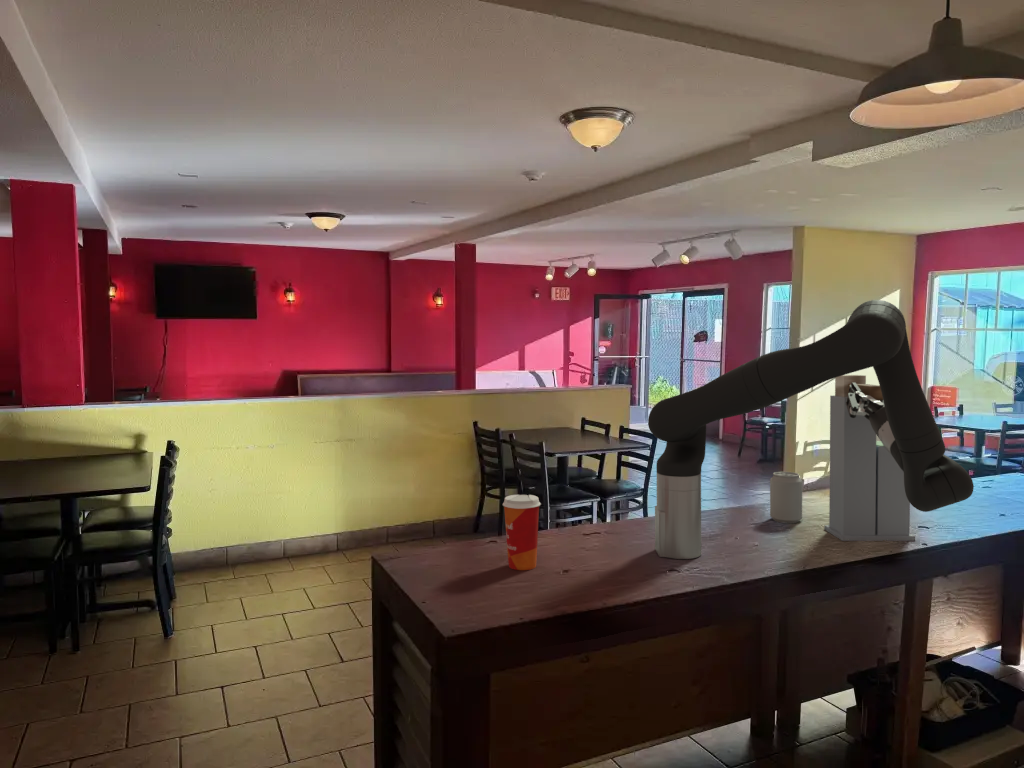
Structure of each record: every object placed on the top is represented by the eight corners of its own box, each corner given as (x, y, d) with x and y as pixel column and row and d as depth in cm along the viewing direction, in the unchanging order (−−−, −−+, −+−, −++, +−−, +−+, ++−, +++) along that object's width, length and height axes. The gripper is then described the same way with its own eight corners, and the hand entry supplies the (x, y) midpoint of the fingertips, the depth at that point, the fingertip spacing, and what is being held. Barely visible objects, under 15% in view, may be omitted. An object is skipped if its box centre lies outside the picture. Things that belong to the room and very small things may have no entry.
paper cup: (507, 559, 148) (506, 493, 147) (543, 561, 146) (542, 494, 146) (500, 571, 140) (499, 501, 139) (538, 573, 139) (537, 502, 138)
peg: (865, 400, 150) (866, 377, 150) (835, 395, 166) (835, 375, 166) (889, 400, 150) (889, 377, 150) (856, 395, 166) (856, 374, 165)
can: (797, 525, 173) (797, 476, 172) (766, 521, 177) (766, 473, 177) (805, 519, 179) (805, 472, 178) (775, 515, 183) (775, 469, 183)
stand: (841, 540, 159) (843, 398, 157) (824, 529, 169) (825, 395, 167) (915, 540, 158) (917, 397, 156) (893, 529, 168) (894, 394, 166)
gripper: (941, 416, 138) (904, 370, 153) (866, 417, 139) (836, 371, 153) (930, 446, 142) (895, 399, 157) (857, 447, 143) (829, 400, 157)
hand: (866, 386), depth 155 cm, fingers open, 5 cm apart
